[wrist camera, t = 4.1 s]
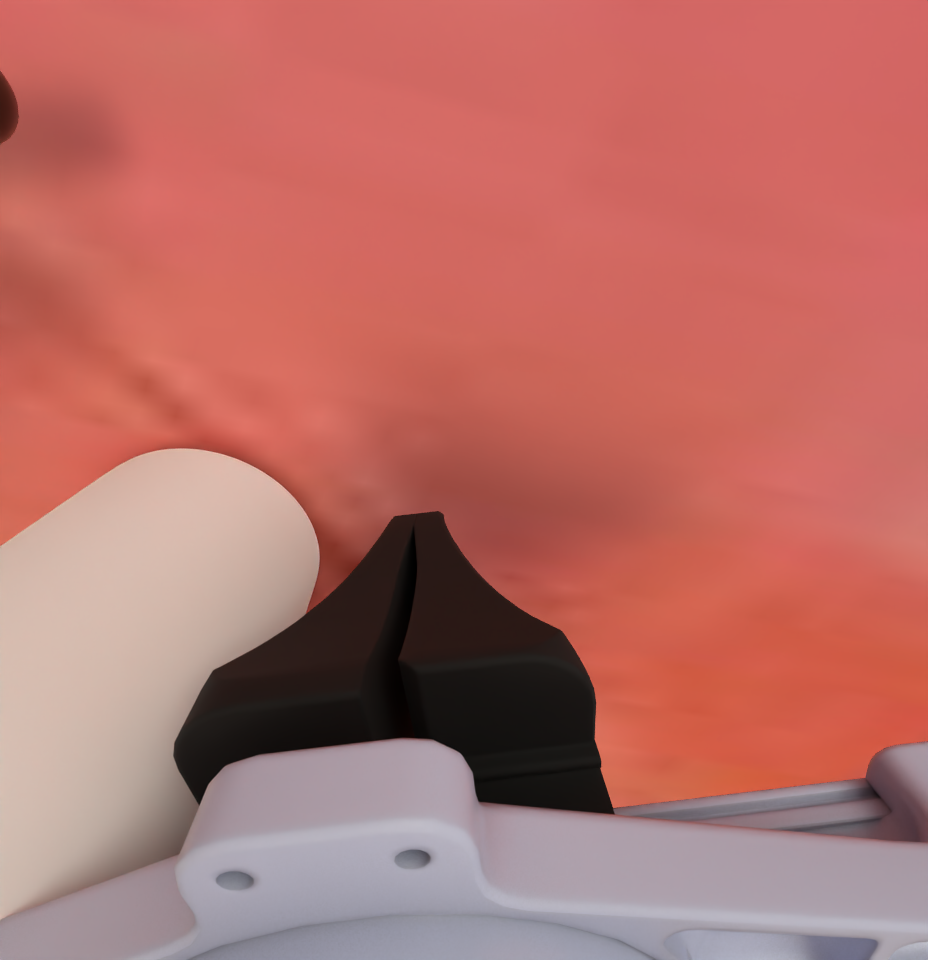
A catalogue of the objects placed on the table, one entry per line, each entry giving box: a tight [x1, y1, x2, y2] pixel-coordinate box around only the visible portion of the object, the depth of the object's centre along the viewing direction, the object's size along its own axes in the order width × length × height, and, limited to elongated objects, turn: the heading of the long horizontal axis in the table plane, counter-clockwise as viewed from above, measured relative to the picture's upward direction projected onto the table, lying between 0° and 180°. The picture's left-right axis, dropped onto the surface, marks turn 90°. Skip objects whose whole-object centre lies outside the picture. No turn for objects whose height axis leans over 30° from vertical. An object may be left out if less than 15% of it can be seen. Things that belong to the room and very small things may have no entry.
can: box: [0, 449, 320, 920], centre depth 9 cm, size 6×6×12 cm
